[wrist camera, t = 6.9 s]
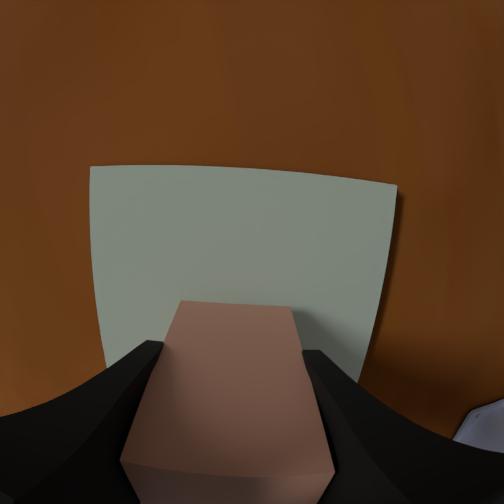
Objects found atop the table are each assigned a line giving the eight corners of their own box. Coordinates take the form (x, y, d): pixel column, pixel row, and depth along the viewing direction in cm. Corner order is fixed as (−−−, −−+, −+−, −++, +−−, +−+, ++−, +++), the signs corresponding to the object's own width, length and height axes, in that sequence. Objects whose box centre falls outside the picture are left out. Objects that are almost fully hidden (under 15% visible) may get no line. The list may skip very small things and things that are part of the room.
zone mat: (391, 184, 11) (397, 185, 11) (341, 415, 14) (344, 421, 14) (95, 166, 11) (90, 166, 10) (120, 403, 14) (117, 409, 13)
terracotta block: (289, 306, 11) (334, 472, 4) (277, 386, 12) (296, 532, 6) (180, 300, 11) (119, 460, 4) (185, 381, 12) (154, 525, 5)
